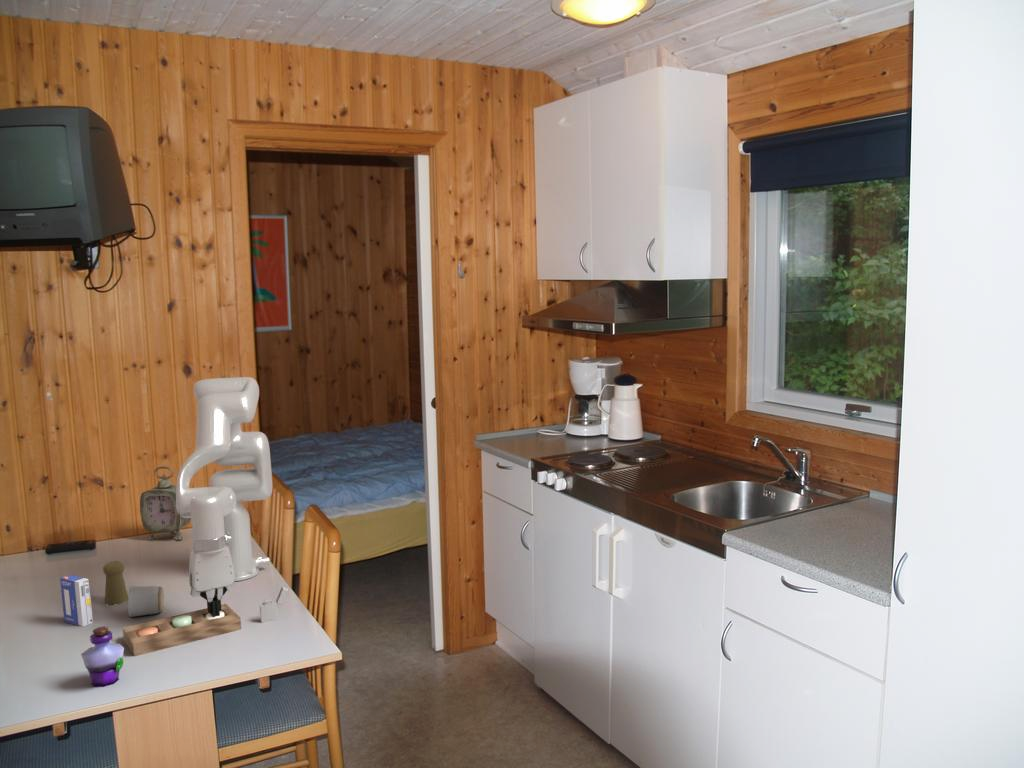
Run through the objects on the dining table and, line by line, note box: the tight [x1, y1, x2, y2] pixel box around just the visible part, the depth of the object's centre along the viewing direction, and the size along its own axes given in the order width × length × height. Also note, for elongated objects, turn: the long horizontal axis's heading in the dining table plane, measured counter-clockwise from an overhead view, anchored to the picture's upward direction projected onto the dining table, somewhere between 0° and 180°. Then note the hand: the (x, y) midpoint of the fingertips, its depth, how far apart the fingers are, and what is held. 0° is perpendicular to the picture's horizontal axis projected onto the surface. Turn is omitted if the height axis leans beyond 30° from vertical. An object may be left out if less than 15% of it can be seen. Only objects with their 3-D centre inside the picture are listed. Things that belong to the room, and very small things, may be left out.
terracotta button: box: [138, 627, 158, 637], centre depth 213 cm, size 4×4×2 cm
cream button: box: [206, 611, 224, 620], centre depth 222 cm, size 4×4×2 cm
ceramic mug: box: [127, 585, 165, 618], centre depth 233 cm, size 11×8×8 cm
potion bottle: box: [80, 625, 125, 688], centre depth 192 cm, size 9×9×12 cm
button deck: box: [122, 603, 242, 657], centre depth 217 cm, size 25×12×3 cm, turn 125°
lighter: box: [258, 586, 289, 624], centre depth 225 cm, size 7×2×8 cm, turn 115°
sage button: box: [172, 615, 192, 628], centre depth 217 cm, size 4×4×2 cm
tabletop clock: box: [139, 465, 192, 541], centre depth 300 cm, size 14×9×25 cm, turn 81°
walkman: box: [59, 574, 94, 627], centre depth 227 cm, size 8×3×12 cm, turn 60°
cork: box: [102, 560, 128, 606], centre depth 241 cm, size 6×6×11 cm
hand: (214, 614), depth 221 cm, fingers closed
